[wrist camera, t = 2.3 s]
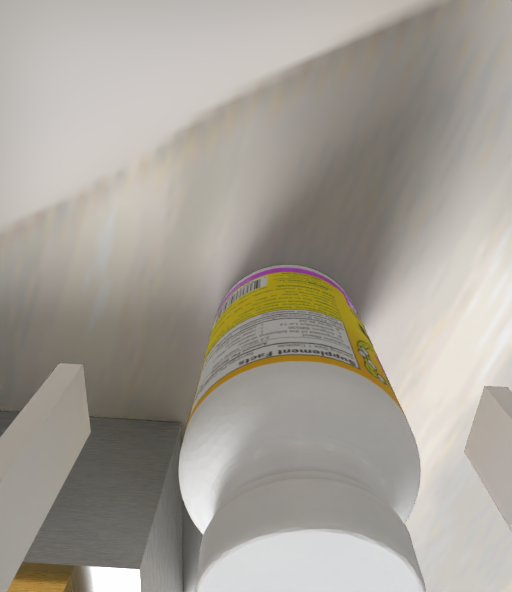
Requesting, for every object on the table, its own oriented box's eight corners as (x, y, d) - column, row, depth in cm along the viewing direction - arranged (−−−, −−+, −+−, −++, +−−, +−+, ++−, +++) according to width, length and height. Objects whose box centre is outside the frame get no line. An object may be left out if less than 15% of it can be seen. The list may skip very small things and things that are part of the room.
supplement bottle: (343, 391, 22) (431, 719, 10) (212, 379, 22) (145, 694, 10) (368, 265, 19) (527, 506, 7) (219, 251, 19) (141, 471, 7)
